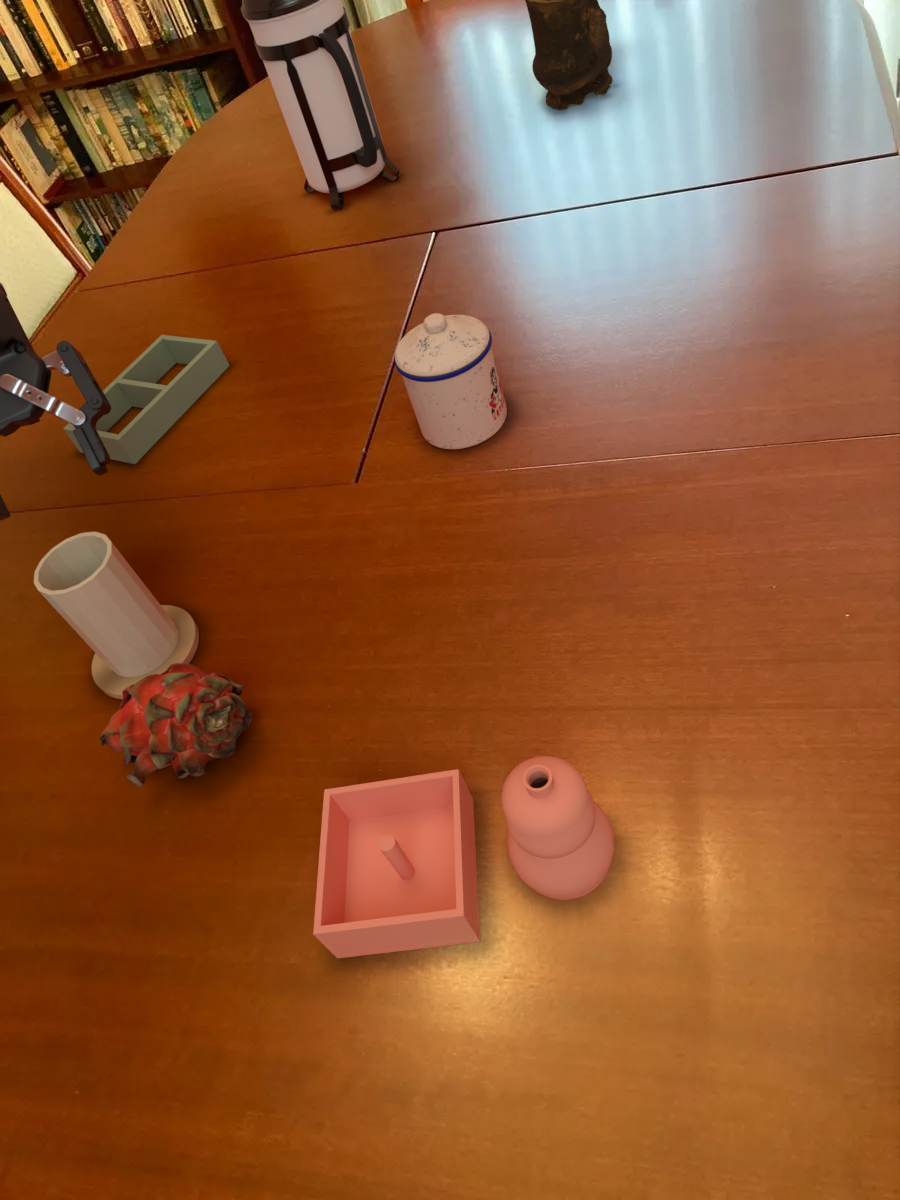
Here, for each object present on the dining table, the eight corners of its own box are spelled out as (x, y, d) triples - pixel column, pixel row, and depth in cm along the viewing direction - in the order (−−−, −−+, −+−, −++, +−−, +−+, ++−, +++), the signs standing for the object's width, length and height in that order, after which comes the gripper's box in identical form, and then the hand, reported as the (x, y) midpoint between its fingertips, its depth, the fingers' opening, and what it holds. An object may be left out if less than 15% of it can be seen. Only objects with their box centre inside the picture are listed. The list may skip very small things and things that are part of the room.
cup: (95, 666, 76) (17, 583, 68) (142, 610, 79) (73, 525, 71) (146, 686, 73) (71, 602, 65) (193, 627, 76) (127, 540, 68)
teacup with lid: (520, 433, 83) (494, 327, 74) (428, 464, 83) (392, 362, 75) (491, 366, 91) (465, 263, 82) (408, 395, 91) (373, 295, 83)
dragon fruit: (286, 754, 68) (156, 785, 71) (262, 646, 69) (136, 682, 72) (225, 770, 59) (82, 804, 63) (199, 647, 60) (60, 688, 64)
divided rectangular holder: (80, 452, 100) (62, 428, 98) (175, 358, 109) (161, 334, 106) (135, 464, 96) (118, 440, 93) (230, 365, 104) (216, 340, 102)
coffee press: (285, 219, 127) (188, -20, 105) (328, 165, 136) (247, -67, 114) (392, 210, 120) (314, -48, 98) (430, 153, 129) (366, -95, 107)
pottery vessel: (547, 66, 139) (524, -85, 125) (616, 51, 136) (601, -106, 122) (534, 137, 124) (506, -27, 109) (612, 121, 121) (593, -49, 106)
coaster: (74, 682, 76) (69, 677, 76) (144, 600, 81) (140, 594, 80) (150, 713, 72) (146, 708, 71) (220, 624, 76) (216, 618, 76)
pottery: (337, 958, 55) (275, 897, 47) (345, 818, 61) (291, 745, 54) (628, 924, 52) (610, 852, 44) (605, 780, 58) (586, 697, 51)
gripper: (-153, 334, 66) (-53, 529, 67) (25, 257, 67) (122, 449, 68) (-101, 361, 73) (-11, 537, 74) (59, 291, 75) (145, 464, 75)
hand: (52, 495), depth 71 cm, fingers open, 8 cm apart
